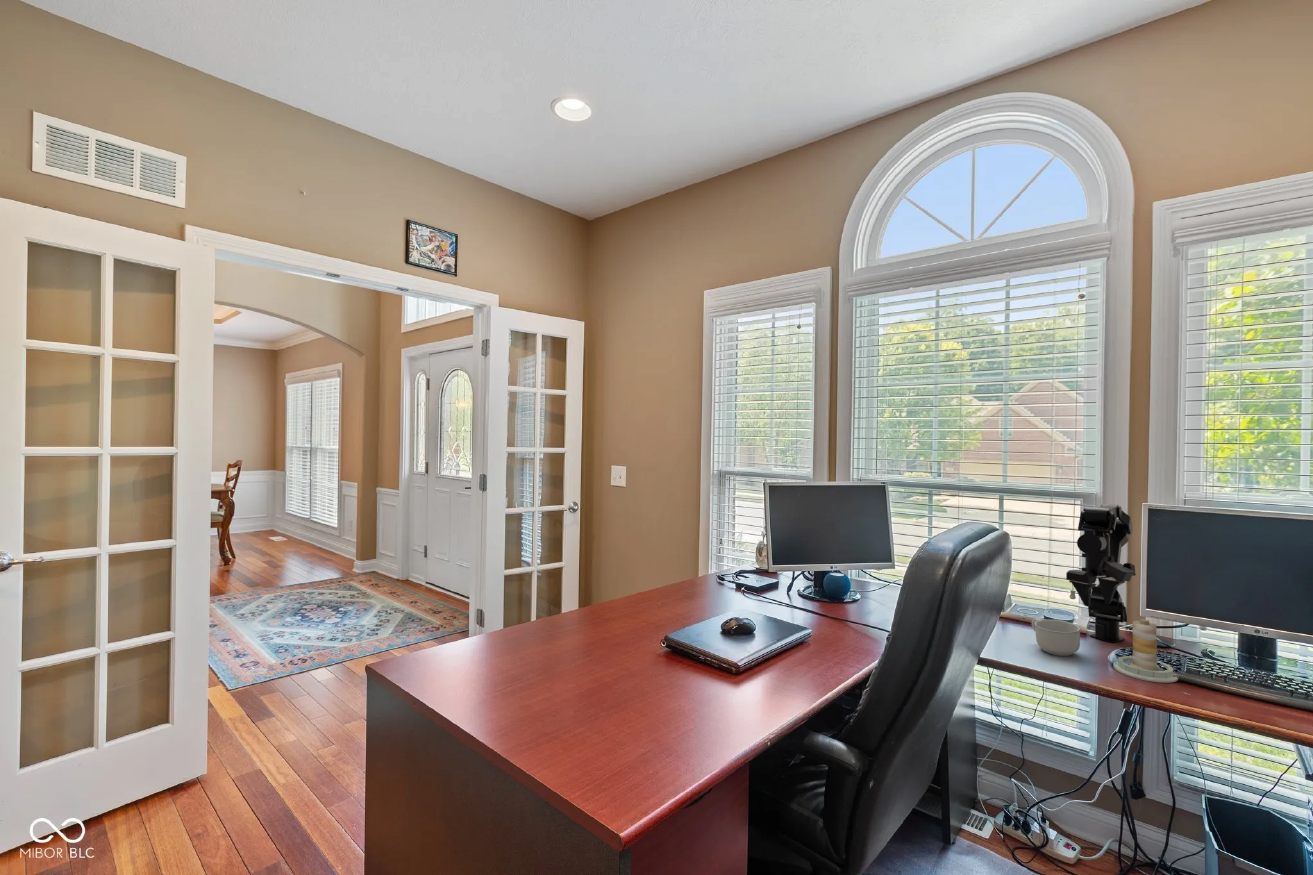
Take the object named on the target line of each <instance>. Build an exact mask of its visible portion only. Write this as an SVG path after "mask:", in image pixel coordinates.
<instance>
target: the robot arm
mask: <svg viewBox="0 0 1313 875" xmlns="http://www.w3.org/2000/svg"><path fill="white" fill-rule="evenodd" d="M1077 531H1079V532H1084V533H1083V534H1081V535H1080V536H1078V538H1077V540H1076V544H1077V545H1076V546H1077V548H1078V550H1080V551H1081V552H1082V553H1081V557H1082V558H1085V560H1084V561H1085V562H1084V563H1085V564H1084V566H1082V567H1081V569H1069V570H1068V571H1067V572H1066V575H1065V578H1066V579H1065V580H1066V581H1068V583H1071V585H1072V586H1073V588H1074V589H1075V590H1076V592H1077V594H1078V596H1079V598H1080V600H1081V602H1082V603H1083V605H1084V606H1085V607H1087V610H1088V617H1089V618H1094V621H1095V622H1094V633H1091V634H1089V636H1090V637H1091V638H1095V639H1099V640H1101V641H1105V642H1108V643H1118V642H1122V641H1126V637H1122V636H1120V623H1122V624H1123V623H1128V611H1127V607H1126V606H1125V603H1124V602H1123V599H1122V596H1121V594H1120V592H1119V590H1118V587H1119V586H1121V585H1123V584H1125V583H1126V582H1130V581H1131V579H1132V577H1135V576H1137V574H1136V567H1135V564H1134V563H1131V562H1125V563H1124V564H1123V563H1121V554H1122V548H1123V547H1124V546H1125V545H1126V544H1127V543H1128V542H1130V537H1131V536H1130V535H1132V534H1133V523H1132V518H1131V516H1130V515H1128V514H1127V513H1126V512H1125V511H1123V508H1122V506H1121V505H1119V504H1111V503H1110V504H1108V503H1103V504H1100V506H1098V507H1087V506H1086V507H1084V508H1083V510H1081V511H1080V515H1079V521H1078V526H1077ZM1097 580H1098V584H1097V583H1096V581H1097Z"/></svg>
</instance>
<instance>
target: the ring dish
mask: <svg viewBox="0 0 1313 875" xmlns="http://www.w3.org/2000/svg"><path fill="white" fill-rule="evenodd" d="M1128 660H1133V655H1129V656H1128V655H1124V656H1119V657H1117V661H1118V664H1116V663H1115V661H1114V662H1113V669H1114V670H1115V671H1117V673H1120V674H1122V675H1125V676H1126V677H1130V678H1133V679H1135V680H1136V679H1137V680H1140V681H1146V682H1152V683H1157V684H1158V683H1161V684H1167V683H1168V684H1170V683H1171V684H1172V683H1175V682H1177V681H1179V677H1178V678H1177V677H1173V671H1174V669H1173V666H1171V665H1169V664H1168V663H1164V662H1163V661H1159V660H1157V663H1160V664H1161V665H1163V666H1164V667H1165V668H1166V669H1167V670H1165V671H1151V670H1145V669H1140V668H1137V667H1133V666H1130V665H1128V664H1126V663H1125V661H1128Z"/></svg>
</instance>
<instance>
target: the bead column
mask: <svg viewBox="0 0 1313 875" xmlns="http://www.w3.org/2000/svg"><path fill="white" fill-rule="evenodd" d="M1157 637H1158V636H1157V624H1155V623H1154V622H1150V620H1148V619H1142V618H1140V619H1139V620H1133V621H1132V656H1133V661H1130V666H1133V667H1137V668H1140V669H1145V670H1151V671H1160V667H1159V666H1158V665H1157V661H1158V659H1157V658H1158V656H1157V654H1158V652H1157V650H1158V648H1157V647H1158V646H1157V644H1158V643H1157V641H1158V640H1157Z"/></svg>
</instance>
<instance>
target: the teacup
mask: <svg viewBox="0 0 1313 875" xmlns="http://www.w3.org/2000/svg"><path fill="white" fill-rule="evenodd" d="M1031 627H1032V629H1033V631H1034V632H1035V639H1036V642H1037V645H1038V646H1039V647H1040V648H1041V649H1042V650H1043V651H1044V652H1046V653H1048V654H1050V655H1054V656H1058V657H1059V656H1060V657H1069V656H1072V655H1073V654H1075V653H1077V652H1078V651H1079V650H1080V646H1081V628H1080V626H1079V625H1077V624H1075V623H1073V622H1069V621H1065V620H1060V619H1041V618H1037V617H1036V618H1033V619H1032V620H1031Z"/></svg>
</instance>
